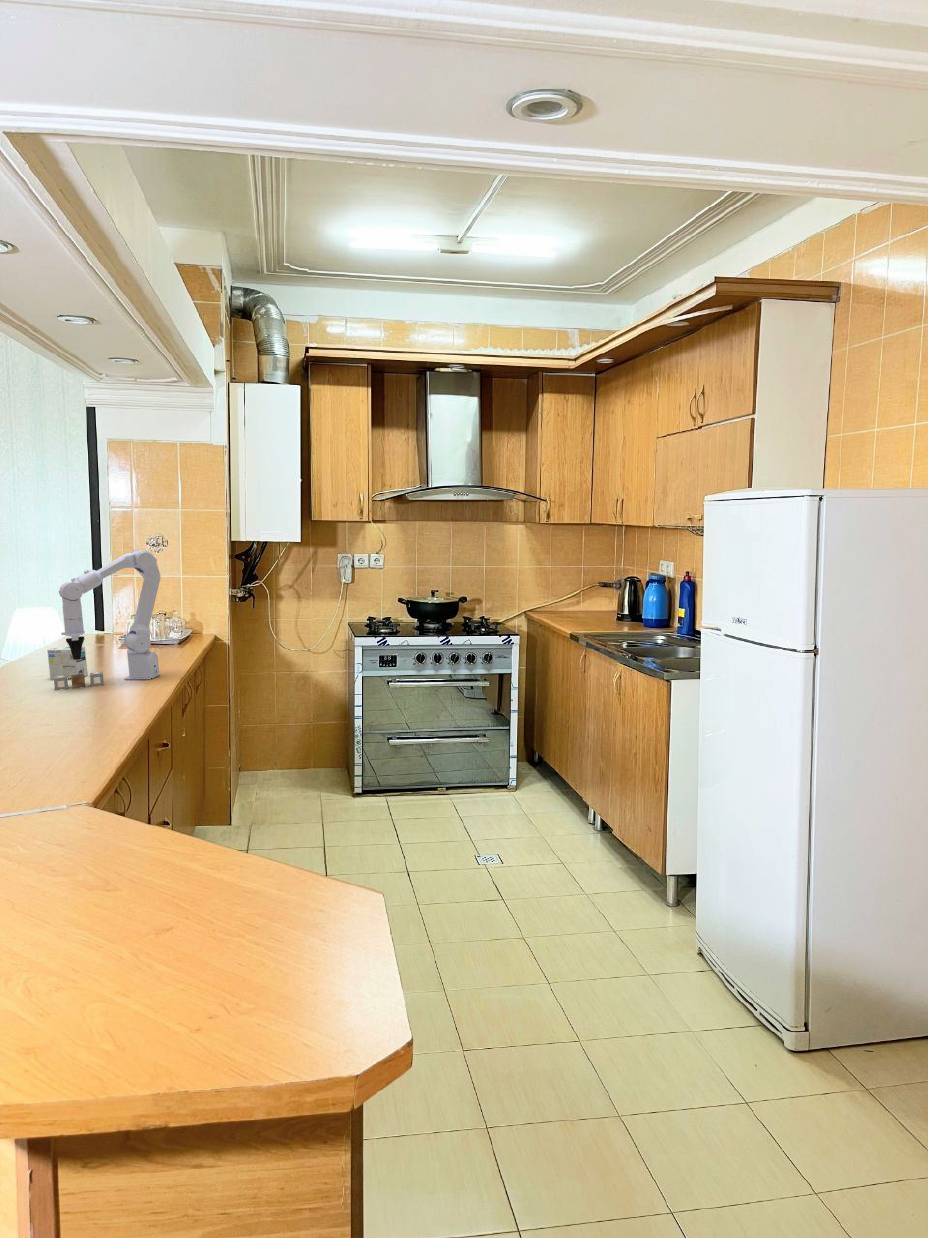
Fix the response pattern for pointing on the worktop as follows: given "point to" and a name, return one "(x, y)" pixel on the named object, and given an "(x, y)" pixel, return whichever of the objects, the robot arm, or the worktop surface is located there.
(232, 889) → the worktop surface
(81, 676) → the plain walnut block
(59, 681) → the marked grey block 1
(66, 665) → the light bulb box
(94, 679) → the marked grey block 2
